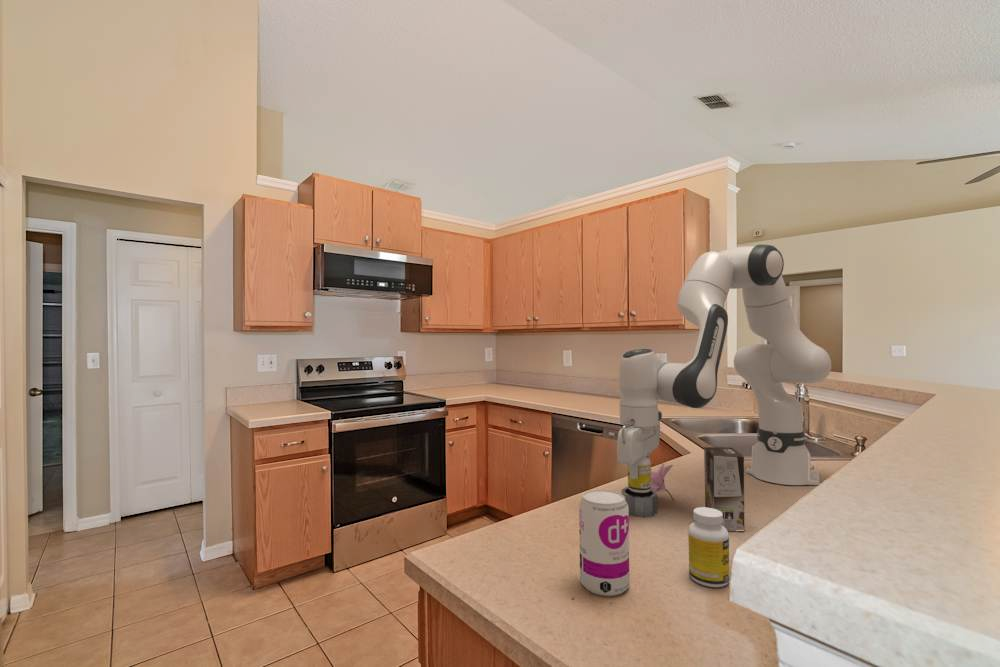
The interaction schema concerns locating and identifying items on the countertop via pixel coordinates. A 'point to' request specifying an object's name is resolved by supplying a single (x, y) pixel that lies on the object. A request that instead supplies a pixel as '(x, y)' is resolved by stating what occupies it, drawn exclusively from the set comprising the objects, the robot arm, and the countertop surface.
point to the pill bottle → (708, 548)
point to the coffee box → (725, 485)
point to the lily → (660, 479)
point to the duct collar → (641, 503)
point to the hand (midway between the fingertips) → (639, 474)
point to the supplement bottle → (641, 476)
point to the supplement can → (604, 542)
